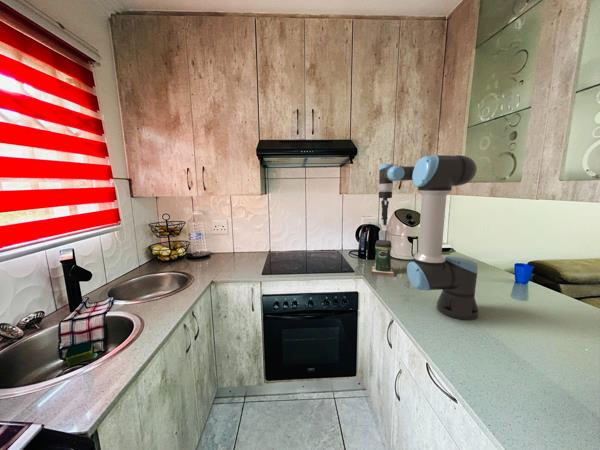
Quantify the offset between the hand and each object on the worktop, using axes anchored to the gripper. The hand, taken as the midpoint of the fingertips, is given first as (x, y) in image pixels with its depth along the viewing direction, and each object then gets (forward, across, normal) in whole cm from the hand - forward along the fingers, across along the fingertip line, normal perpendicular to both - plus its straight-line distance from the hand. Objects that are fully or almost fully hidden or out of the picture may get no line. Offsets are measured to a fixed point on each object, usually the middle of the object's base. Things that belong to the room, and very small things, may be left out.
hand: (383, 228), depth 150 cm
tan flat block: (+27, 0, 0) cm, 27 cm away
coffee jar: (+26, 0, 0) cm, 26 cm away
